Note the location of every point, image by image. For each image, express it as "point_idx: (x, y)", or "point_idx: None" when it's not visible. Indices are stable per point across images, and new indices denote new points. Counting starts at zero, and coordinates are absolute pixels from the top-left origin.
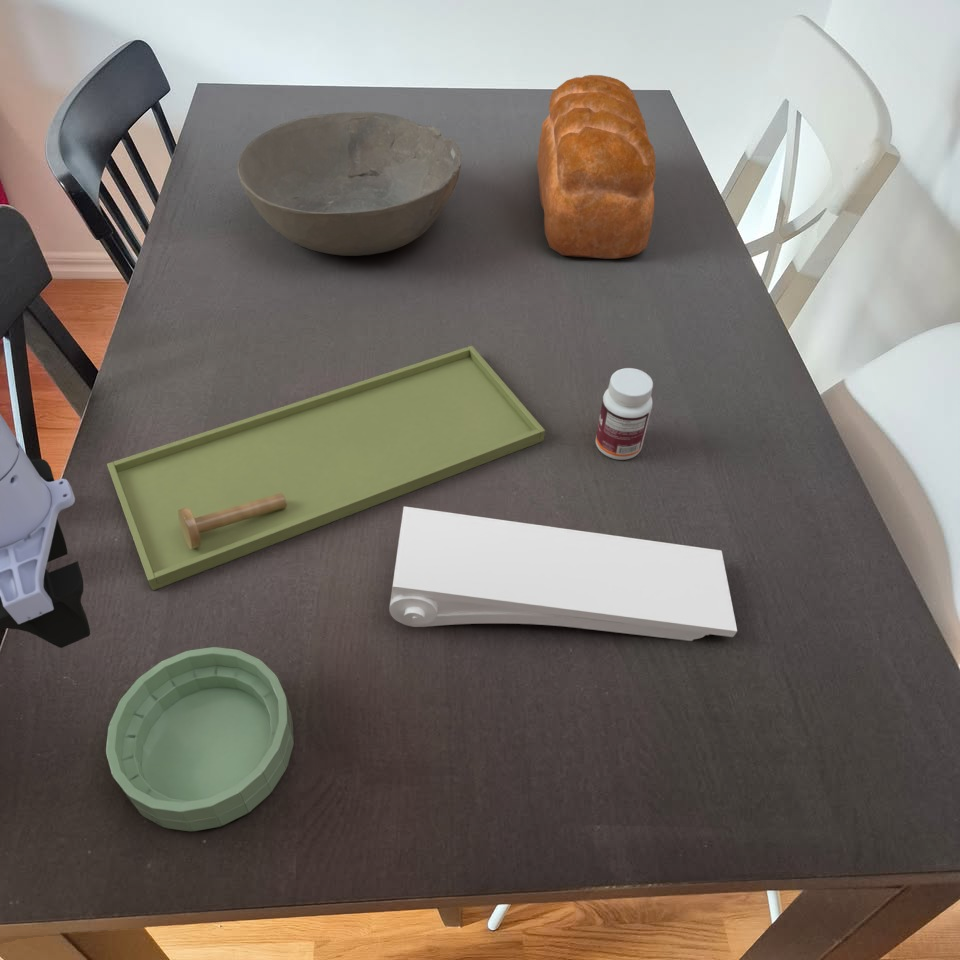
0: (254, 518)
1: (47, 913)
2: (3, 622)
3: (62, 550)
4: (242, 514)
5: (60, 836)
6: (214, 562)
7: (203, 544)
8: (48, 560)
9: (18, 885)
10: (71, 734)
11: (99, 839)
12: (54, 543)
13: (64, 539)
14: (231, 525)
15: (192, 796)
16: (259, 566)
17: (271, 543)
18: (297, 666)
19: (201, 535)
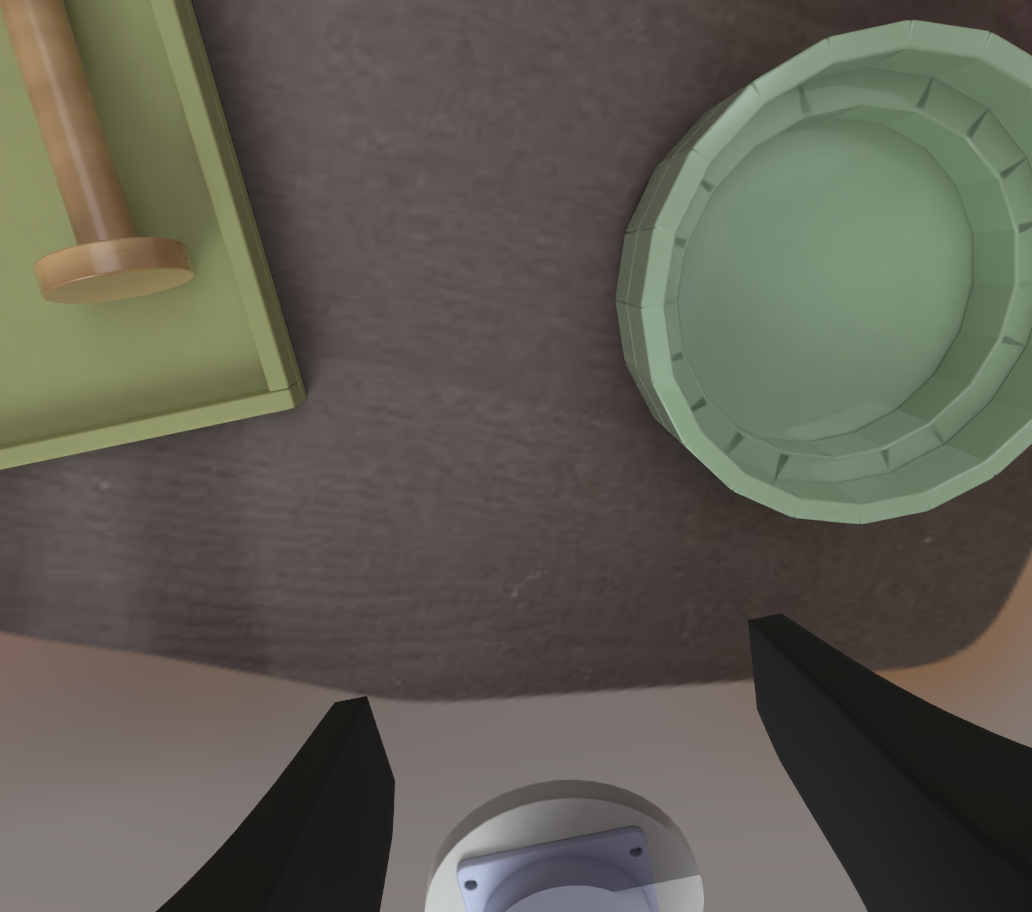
0: None
1: (1003, 606)
2: None
3: (365, 723)
4: (73, 79)
5: (874, 590)
6: (247, 215)
7: None
8: (384, 756)
9: (931, 653)
10: (662, 578)
11: (912, 523)
12: (356, 772)
13: (334, 733)
14: None
15: (922, 337)
16: (278, 78)
17: (194, 17)
18: (666, 20)
19: None
